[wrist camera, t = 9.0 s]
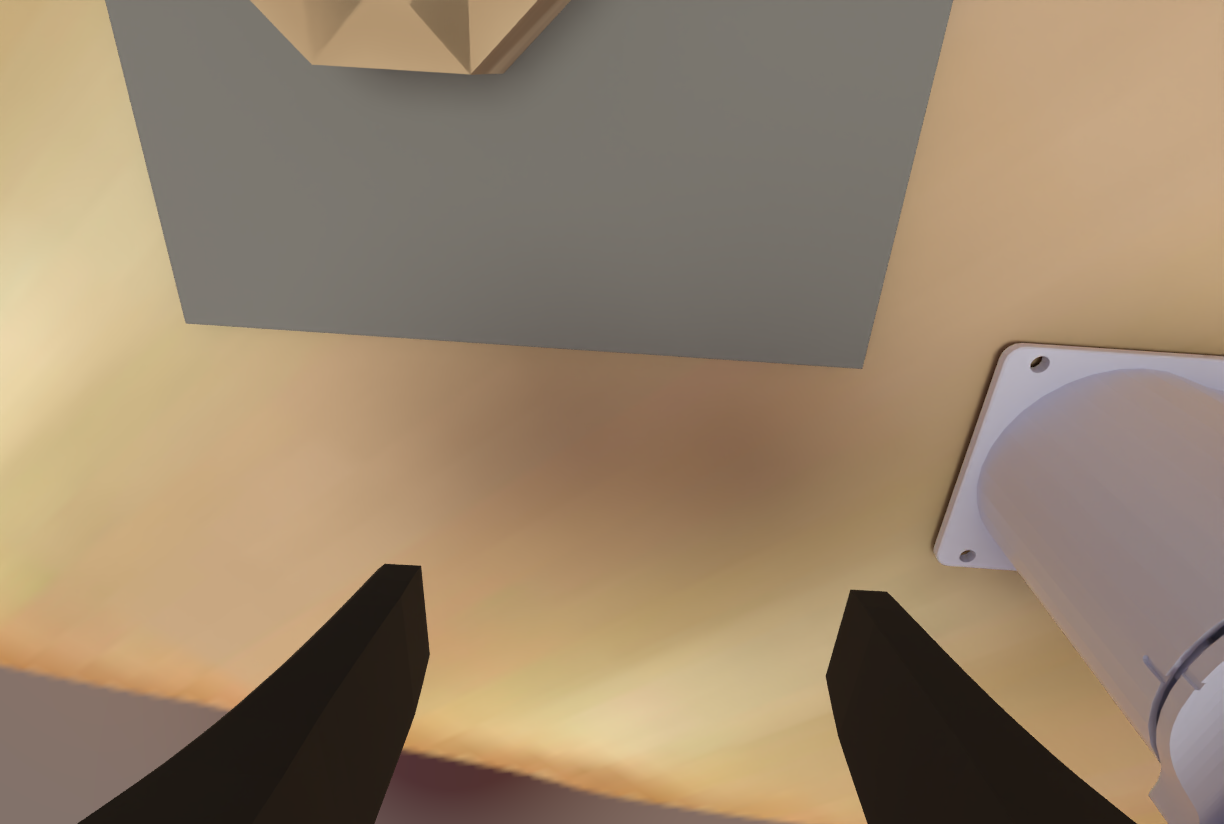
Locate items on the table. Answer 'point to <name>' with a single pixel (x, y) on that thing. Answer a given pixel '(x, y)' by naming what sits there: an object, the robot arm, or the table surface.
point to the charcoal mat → (544, 176)
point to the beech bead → (412, 32)
